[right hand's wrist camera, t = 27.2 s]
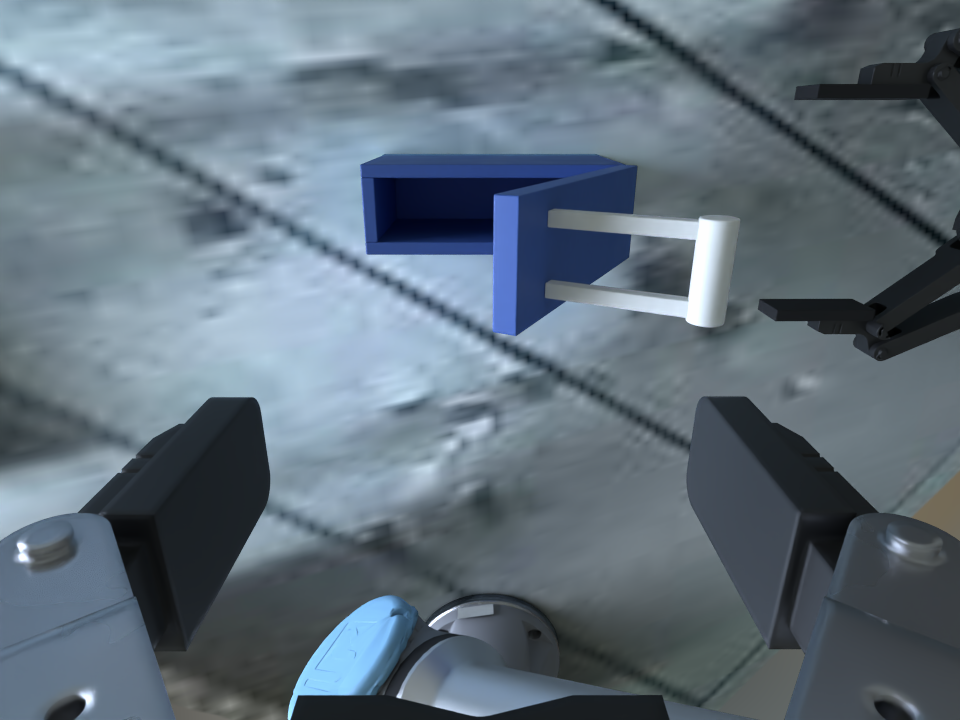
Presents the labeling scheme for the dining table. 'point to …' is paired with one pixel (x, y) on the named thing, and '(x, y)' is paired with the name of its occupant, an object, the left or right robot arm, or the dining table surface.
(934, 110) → the left robot arm
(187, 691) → the dining table surface
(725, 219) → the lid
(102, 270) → the dining table surface
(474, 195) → the chest
